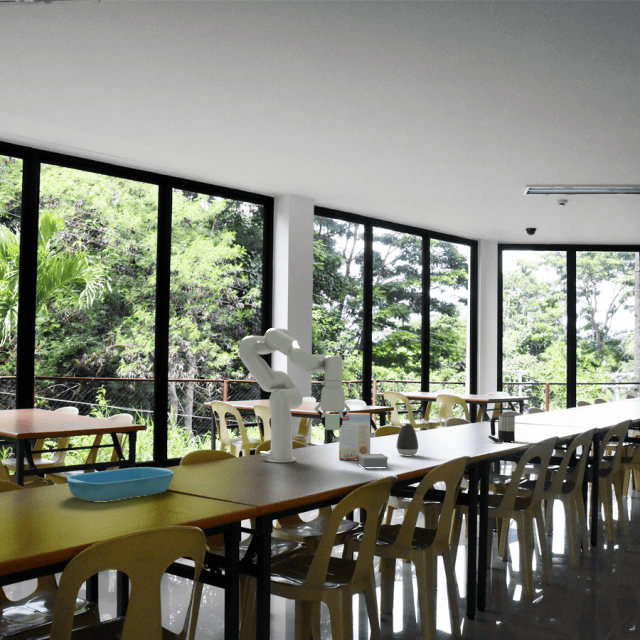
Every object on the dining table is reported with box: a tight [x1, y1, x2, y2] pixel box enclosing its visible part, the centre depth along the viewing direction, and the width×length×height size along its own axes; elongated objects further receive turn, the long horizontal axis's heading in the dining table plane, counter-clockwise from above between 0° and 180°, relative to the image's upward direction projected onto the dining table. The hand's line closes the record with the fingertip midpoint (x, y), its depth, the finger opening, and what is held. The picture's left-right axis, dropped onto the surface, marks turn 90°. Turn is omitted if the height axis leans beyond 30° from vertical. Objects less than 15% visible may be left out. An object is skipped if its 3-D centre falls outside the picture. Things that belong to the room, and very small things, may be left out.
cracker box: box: [338, 412, 371, 460], centre depth 309 cm, size 14×6×21 cm, turn 84°
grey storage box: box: [358, 453, 389, 468], centre depth 289 cm, size 11×11×5 cm
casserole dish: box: [66, 466, 175, 502], centre depth 228 cm, size 37×22×7 cm, turn 139°
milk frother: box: [487, 413, 516, 443], centre depth 378 cm, size 14×16×15 cm
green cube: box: [324, 413, 340, 431], centre depth 290 cm, size 6×6×6 cm
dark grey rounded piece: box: [396, 422, 419, 456], centre depth 323 cm, size 10×10×15 cm
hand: (332, 426), depth 290 cm, fingers closed on green cube, 6 cm apart
